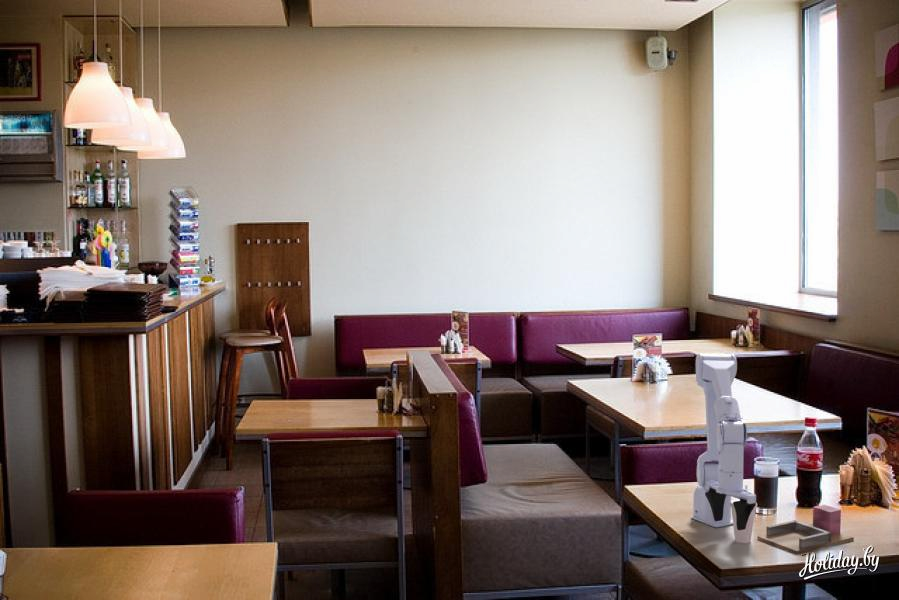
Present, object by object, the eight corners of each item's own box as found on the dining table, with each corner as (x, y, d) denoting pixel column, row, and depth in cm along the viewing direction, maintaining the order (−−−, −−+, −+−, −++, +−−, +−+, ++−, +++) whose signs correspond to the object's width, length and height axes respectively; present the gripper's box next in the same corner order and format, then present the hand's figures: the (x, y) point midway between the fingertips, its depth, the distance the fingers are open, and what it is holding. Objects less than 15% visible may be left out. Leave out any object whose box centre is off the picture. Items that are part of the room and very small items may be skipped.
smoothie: (757, 546, 223) (759, 489, 222) (730, 544, 224) (731, 487, 223) (754, 537, 229) (755, 482, 228) (727, 535, 231) (728, 480, 230)
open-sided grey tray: (757, 539, 228) (758, 512, 227) (813, 526, 237) (814, 500, 237) (796, 554, 217) (797, 526, 217) (853, 540, 227) (854, 513, 226)
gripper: (697, 465, 228) (696, 519, 229) (741, 479, 215) (739, 536, 216) (718, 461, 231) (717, 514, 232) (762, 475, 218) (761, 531, 220)
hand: (729, 524), depth 224 cm, fingers open, 7 cm apart
